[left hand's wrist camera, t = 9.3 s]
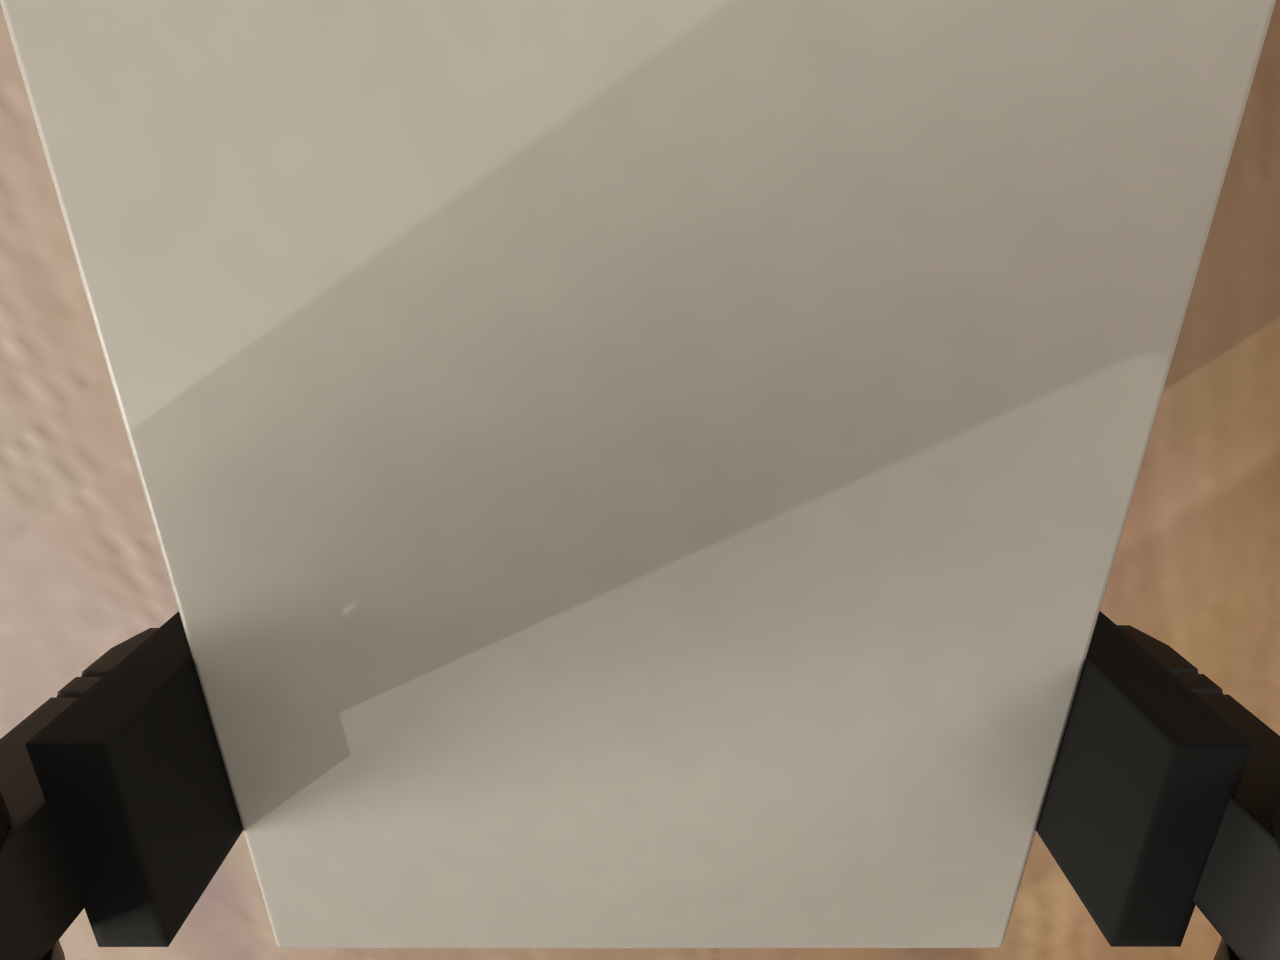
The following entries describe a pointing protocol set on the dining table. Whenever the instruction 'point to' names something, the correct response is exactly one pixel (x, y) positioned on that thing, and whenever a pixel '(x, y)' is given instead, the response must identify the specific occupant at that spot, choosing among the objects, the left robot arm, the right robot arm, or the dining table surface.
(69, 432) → the dining table surface
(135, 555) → the dining table surface
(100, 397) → the dining table surface
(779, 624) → the cabinet
